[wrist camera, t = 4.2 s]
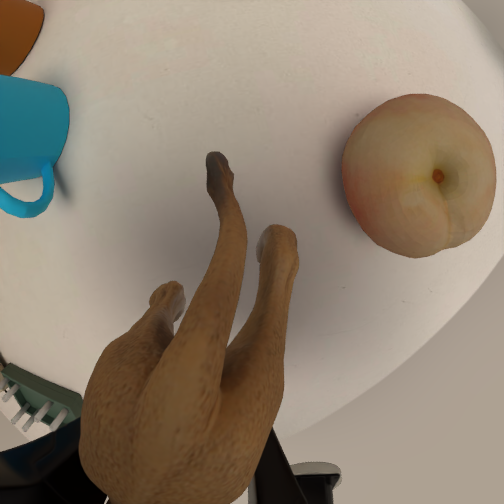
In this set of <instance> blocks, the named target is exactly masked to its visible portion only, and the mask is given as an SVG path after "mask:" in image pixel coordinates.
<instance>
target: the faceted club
mask: <svg viewBox="0 0 504 504" xmlns="http://www.w3.org/2000/svg"><path fill="white" fill-rule="evenodd" d="M3 369H4V367H3V365H2V364H1V363H0V382H1V381H2V380H3V379H4V377H3V375H2V373H1V371H2V370H3ZM7 388H8V385H7V384H6V385H5V386H4V387H3V388H2V389H1V390H0V392H2V391H5V392H6V393H7V391H6V389H7Z"/></svg>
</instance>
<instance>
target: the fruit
mask: <svg viewBox="0 0 504 504" xmlns="http://www.w3.org/2000/svg"><path fill="white" fill-rule="evenodd" d="M341 171H342V178H343V185H344V189H345V194H346V198H347V201H348V204H349V206H350V208H351V210H352V213H353V215H354V216H355V218H356V219H357V221H358V223H359V224H360V226H361V228H362V229H363V231H364V232H365V233H366V234H367V235H368V236H369V237H370V238H371V239H372V240H373V241H374V242H375V243H376V244H377V245H379V246H381V247H383V248H385V249H387V250H389V251H391V252H393V253H396V254H399V255H402V256H406V257H409V258H421V257H427V256H431V255H434V254H436V253H437V252H439V251H441V250H444V249H448V248H454V247H457V246H459V245H461V244H463V243H465V242H467V241H469V240H470V239H472V238H473V237H474V236H475V235H476V234H477V233H478V232H479V231H480V230H481V229H482V227H483V226H484V224H485V222H486V221H487V219H488V217H489V214H490V211H491V209H492V205H493V201H494V196H495V189H496V166H495V159H494V155H493V151H492V147H491V144H490V142H489V140H488V138H487V136H486V134H485V133H484V131H483V130H482V129H481V128H480V126H479V125H478V124H477V123H476V122H475V120H474V119H473V118H472V117H471V116H470V115H469V114H467V113H466V112H465V111H464V110H463V109H462V108H460V107H459V106H457V105H455V104H453V103H452V102H450V101H448V100H446V99H444V98H441V97H438V96H433V95H429V94H408V95H404V96H400V97H397V98H394V99H391V100H388V101H387V102H385V103H383V104H382V105H380V106H378V107H377V108H375V109H374V110H373V111H372V112H370V113H369V114H368V115H367V116H366V117H365V118H364V119H363V120H362V121H361V122H360V123H359V124H358V125H357V126H356V127H355V128H354V130H353V132H352V133H351V135H350V137H349V139H348V141H347V143H346V146H345V149H344V152H343V155H342V170H341Z"/></svg>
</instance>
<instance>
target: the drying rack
mask: <svg viewBox="0 0 504 504" xmlns="http://www.w3.org/2000/svg"><path fill="white" fill-rule="evenodd" d="M1 373H2V375H3V377H4V379H3V380H2V381H1V382H0V390H1V389H2V388H3V387H4V386H5V385H6V384H7V385H8V387H9V388H10V390H9V391H8V392H7V393H6V394H5V395H4V396H3V397H2V400H3V402H7V401H8V400H9V399H10V398H11V396H12V395H14V397H15V399H16V400H17V402H18V404H19V405H20V407H21V409H20V410H19V412H18V413H17V414H16V415H15V416H14V417H13V419H12V420H11V423H12V424H16V422H17V421H18V420H19V419H20V418H21V416H22V415H23V414H24V413H25V412H26V413H27V414H29V415H31V417H30V418H29V420H28V421H27V422H26V423H25V424H24V426H23V427H22V430H23V431H24V432H26V431H27V430H28V429H29V427H30V426H31V425H32V424H33V422H34V421H35V422H36V423H38V422H39V421H41V422H43V423H45V424H46V425H48V426H49V428H50V430H51V431H55V430H56V429H58V428H60V427H62V426H64V425H65V424H67V423H69V422H71V421H73V420H75V419H76V418H78V417H80V416H81V411H82V405H83V400H82V398H81V396H80V394H78V393H75V392H73V391H70V390H67V389H65V388H62V387H60V386H58V385H55V384H53V383H51V382H48V381H46V380H44V379H42V378H39V377H37V376H35V375H33V374H31V373H29V372H27V371H25V370H23V369H21V368H19V367H17V366H15V365H13V364H11V363H9V364H8V365H7V366H6V367H5V368H4V369H3V370H2V371H1Z"/></svg>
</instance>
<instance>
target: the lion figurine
mask: <svg viewBox="0 0 504 504" xmlns="http://www.w3.org/2000/svg"><path fill="white" fill-rule="evenodd" d="M206 168H207V192H208V194H209V195H210V197H211V198H212V200H213V202H214V204H215V206H216V209H217V212H218V216H219V220H220V230H219V237H218V241H217V245H216V249H215V252H214V255H213V257H212V259H211V262H210V264H209V267H208V269H207V272H206V274H205V276H204V278H203V280H202V282H201V284H200V285H199V287H198V289H197V290H196V292H195V294H194V297H193V299H192V301H191V303H190V305H189V307H188V309H187V311H186V313H185V316H184V318H183V320H182V322H181V324H180V326H179V328H178V331H177V333H176V334H175V336H174V326H173V323H174V322H175V321H177V320H178V319H179V318H180V316H181V315H182V313H183V312H184V309H185V304H186V299H185V296H184V289H183V286H182V285H181V284H180V283H178V282H177V281H170V282H168V283H166V284H162V285H161V286H159V287H158V288H157V289H156V290H155V291H154V293H153V294H152V296H151V297H150V300H149V304H150V308H149V309H148V310H147V311H146V313H145V314H144V315H143V317H142V318H141V319H140V320H139V321H137V322H136V323H135V324H134V325H133V326H132V327H131V329H130V330H129V331H128V332H126V333H125V334H123V335H122V336H120V337H119V338H117V339H115V340H114V341H112V342H111V343H110V344H109V345H108V346H107V347H106V348H105V349H104V351H103V352H102V354H101V356H100V358H99V359H98V361H97V363H96V366H95V368H94V370H93V372H92V375H91V377H90V380H89V382H88V385H87V388H86V391H85V395H84V400H83V405H82V411H81V436H80V442H79V456H80V461H81V465H82V467H83V469H84V472H85V473H86V474H87V476H88V477H89V479H90V480H91V481H92V482H93V483H94V484H95V485H96V486H97V487H98V488H99V489H101V490H102V491H103V492H104V493H105V494H107V495H108V497H109V500H108V501H107V503H106V504H230V503H232V502H233V501H235V500H236V499H237V498H238V497H240V496H241V495H242V494H243V492H244V491H245V490H246V488H247V487H248V486H249V484H250V482H251V479H252V477H253V475H254V472H255V470H256V468H257V465H258V463H259V460H260V458H261V455H262V452H263V450H264V447H265V444H266V441H267V439H268V436H269V434H270V431H271V429H272V426H273V424H274V421H275V418H276V416H277V413H278V411H279V408H280V405H281V402H282V398H283V392H284V361H283V360H284V352H285V339H286V329H287V319H288V309H289V303H290V298H291V293H292V287H293V282H294V279H295V276H296V274H297V271H298V268H299V257H298V252H297V239H296V235H295V233H294V232H293V231H292V230H291V229H289V228H287V227H285V226H282V225H278V224H273V225H269V226H268V227H267V228H266V229H265V230H264V231H263V233H262V234H261V236H260V238H259V241H258V244H257V247H256V255H257V260H258V262H259V263H260V273H259V286H258V292H257V297H256V302H255V305H254V308H253V310H252V312H251V314H250V316H249V318H248V319H247V321H246V323H245V325H244V326H243V327H242V329H241V330H240V332H239V333H238V334H237V336H236V337H235V338H234V340H233V341H232V342H231V343H230V345H229V346H228V347H227V343H228V339H229V335H230V331H231V328H232V324H233V320H234V316H235V312H236V308H237V304H238V300H239V295H240V290H241V284H242V279H243V273H244V266H245V259H246V250H247V241H248V240H247V230H246V225H245V222H244V218H243V215H242V213H241V210H240V207H239V204H238V202H237V200H236V198H235V196H234V193H233V180H234V174H233V172H232V171H231V170H230V168H229V165H228V160H227V159H226V157H225V156H224V155H223V154H222V153H220V152H210V153H208V154H207V157H206ZM226 347H227V348H226Z"/></svg>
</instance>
